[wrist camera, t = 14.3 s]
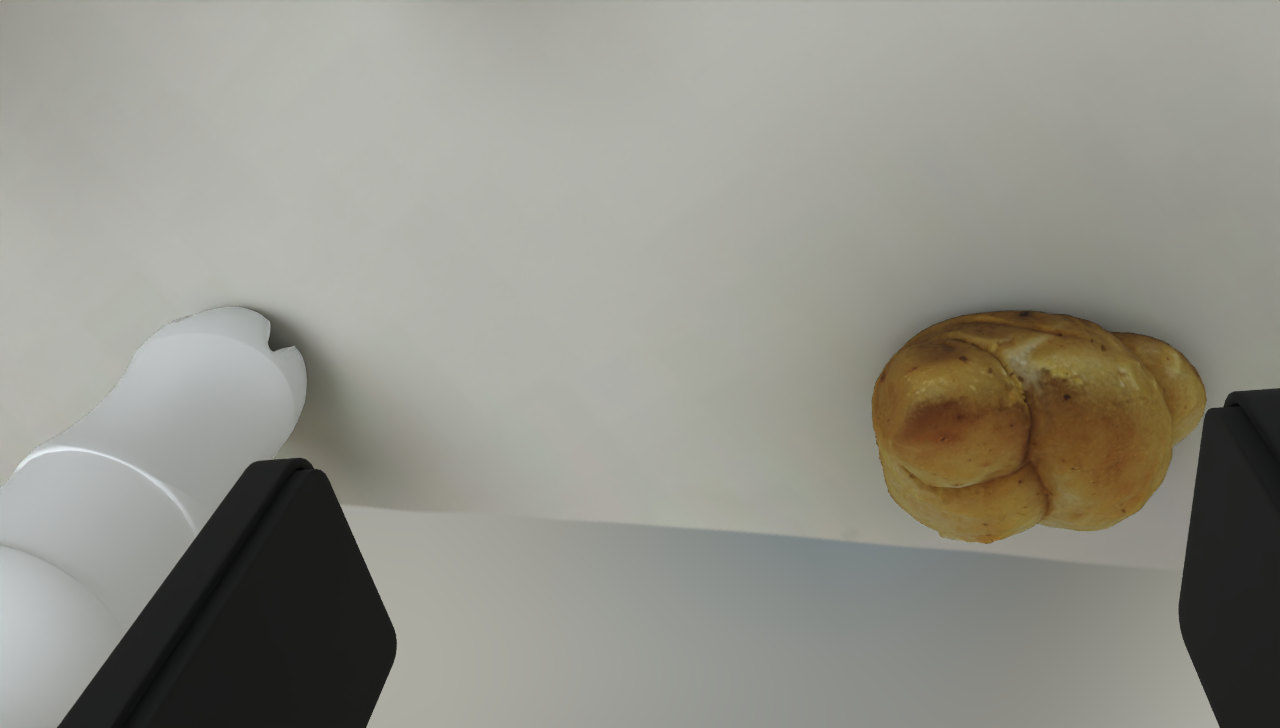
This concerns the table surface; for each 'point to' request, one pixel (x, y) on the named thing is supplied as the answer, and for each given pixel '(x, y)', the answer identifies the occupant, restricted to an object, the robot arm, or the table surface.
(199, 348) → the water bottle
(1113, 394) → the bread roll
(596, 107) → the table surface
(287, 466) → the robot arm
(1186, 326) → the table surface
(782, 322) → the table surface
